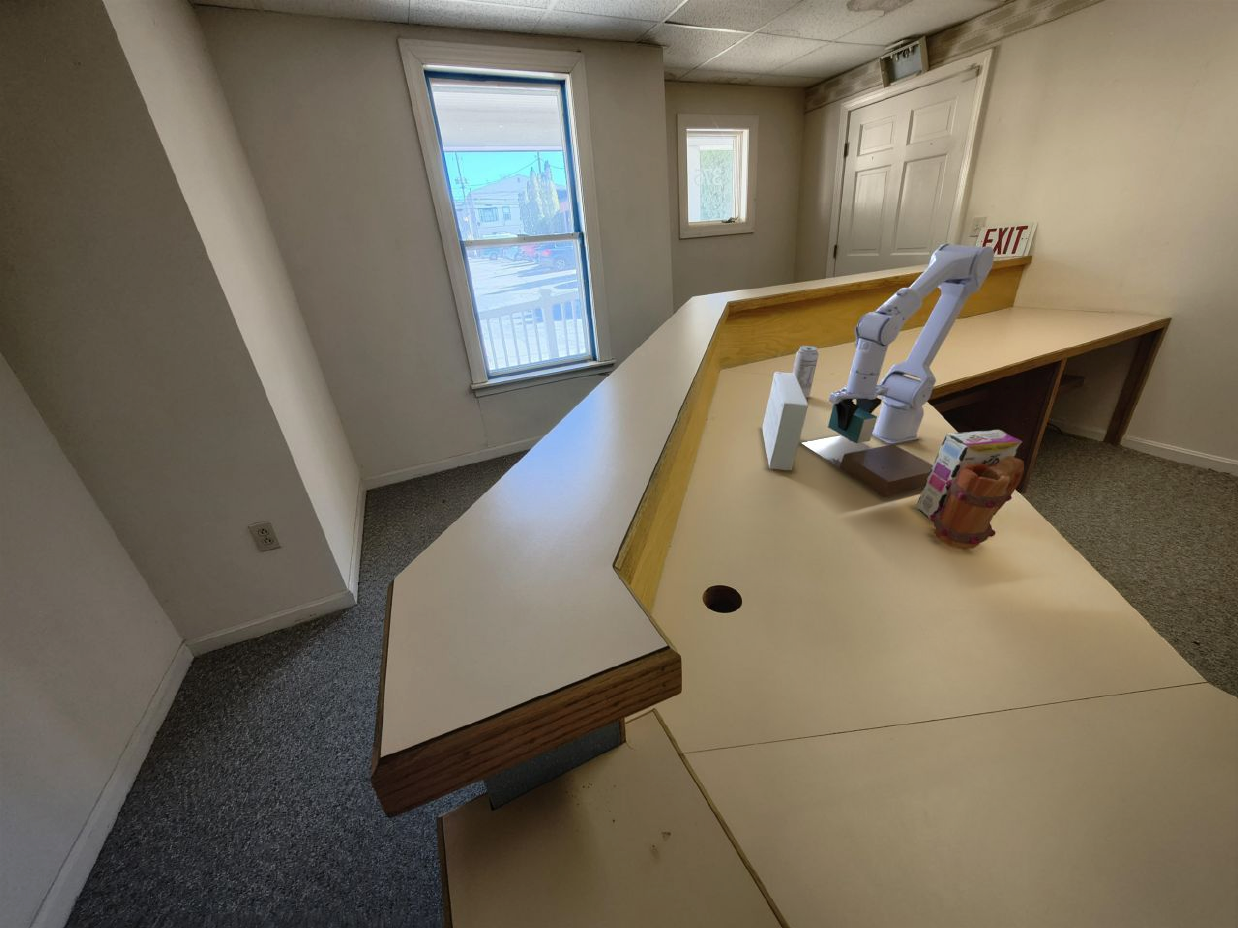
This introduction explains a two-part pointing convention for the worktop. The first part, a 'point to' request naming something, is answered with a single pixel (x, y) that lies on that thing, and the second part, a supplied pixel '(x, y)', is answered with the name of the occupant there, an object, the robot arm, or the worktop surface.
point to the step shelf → (874, 464)
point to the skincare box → (784, 420)
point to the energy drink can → (805, 367)
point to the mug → (976, 502)
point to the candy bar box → (962, 463)
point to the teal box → (855, 425)
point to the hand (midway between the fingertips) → (849, 427)
